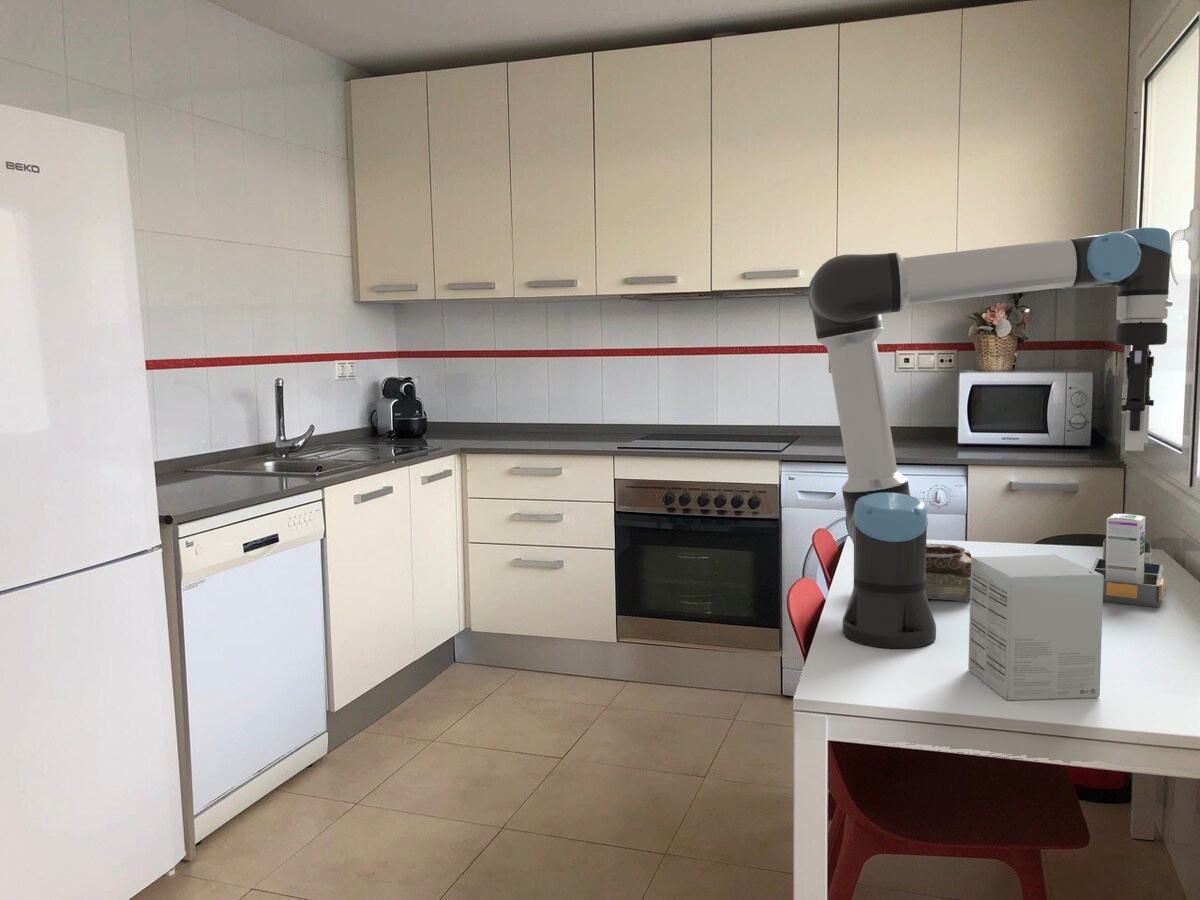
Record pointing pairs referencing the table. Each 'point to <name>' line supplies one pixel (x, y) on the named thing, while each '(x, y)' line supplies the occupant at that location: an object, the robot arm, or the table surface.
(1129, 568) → the syrup box
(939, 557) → the decorative box
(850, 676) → the table surface
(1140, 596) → the grey divided tray
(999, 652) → the supplement box
